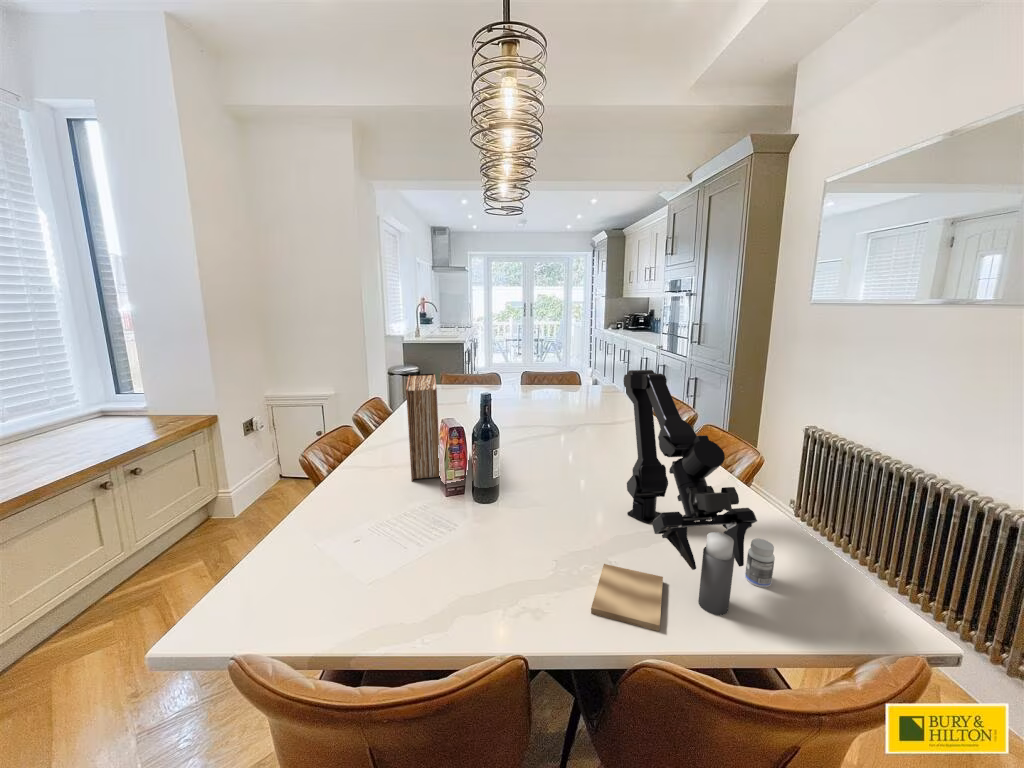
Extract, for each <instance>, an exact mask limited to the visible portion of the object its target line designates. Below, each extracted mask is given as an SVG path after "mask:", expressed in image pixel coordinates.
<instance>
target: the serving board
mask: <svg viewBox="0 0 1024 768" xmlns="http://www.w3.org/2000/svg"><path fill="white" fill-rule="evenodd" d="M663 579H664V576H660V575H657V574H652V573H647V572H642V571H638V570H634V569H629V568H625V567H620V566H615V565H612V564H606V563H604V564H603V565H602V568H601V572H600V576H599V579H598V583H597V586H596V589H595V593H594V595H593V596H594V597H593V600H592V603H591V604H592V605H591V606H590V607H591V608H590V614H592V615H596V616H600V617H602V618H607V619H611V620H614V621H618V622H623V623H626V624H629V625H633V626H638V627H640V628H645V629H649V630H651V631H655V632H660V626H661V611H662V609H661V608H662V599H663V598H662V597H663V585H664V584H663V583H664V582H663V581H664V580H663Z"/></svg>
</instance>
